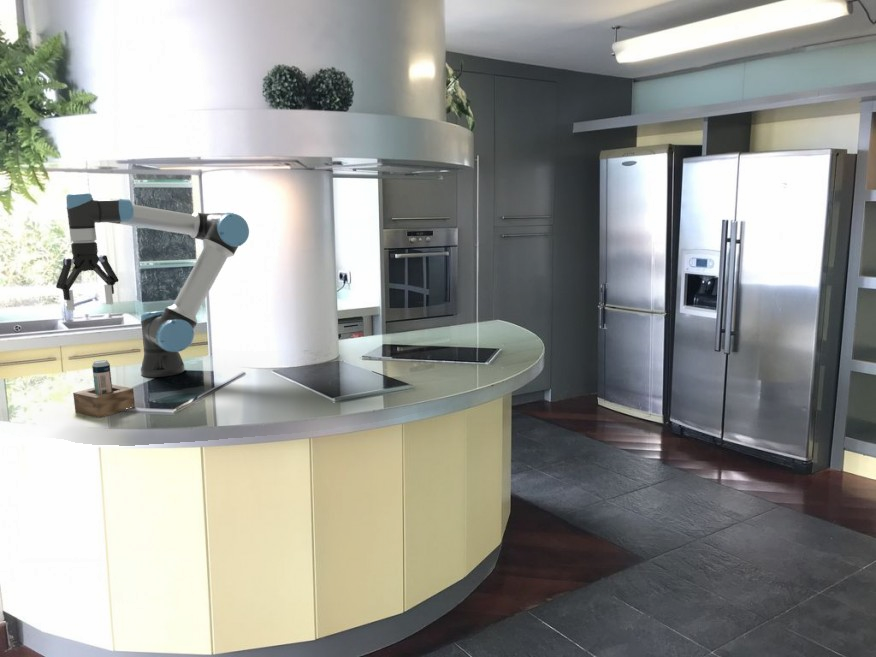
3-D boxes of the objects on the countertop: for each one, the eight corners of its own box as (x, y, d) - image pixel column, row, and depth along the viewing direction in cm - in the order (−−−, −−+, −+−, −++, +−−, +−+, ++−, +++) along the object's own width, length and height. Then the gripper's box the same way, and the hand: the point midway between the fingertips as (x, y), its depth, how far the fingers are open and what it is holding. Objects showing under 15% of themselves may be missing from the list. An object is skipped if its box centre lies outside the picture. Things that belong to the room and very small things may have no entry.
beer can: (116, 398, 221) (112, 360, 219) (105, 402, 216) (101, 363, 214) (103, 397, 222) (99, 359, 220) (92, 401, 217) (88, 363, 215)
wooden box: (111, 402, 228) (109, 383, 227) (135, 407, 221) (133, 388, 220) (75, 412, 218) (73, 392, 217) (99, 417, 211) (97, 398, 210)
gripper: (111, 239, 244) (118, 301, 248) (38, 244, 223) (47, 311, 227) (125, 239, 240) (131, 302, 244) (52, 244, 219) (60, 313, 223)
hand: (90, 307), depth 235 cm, fingers open, 13 cm apart
